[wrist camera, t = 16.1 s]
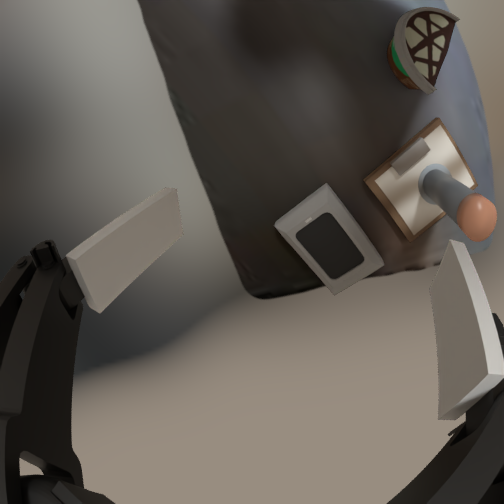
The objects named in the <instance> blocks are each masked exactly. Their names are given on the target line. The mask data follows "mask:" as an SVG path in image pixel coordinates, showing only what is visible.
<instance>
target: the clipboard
mask: <svg viewBox="0 0 504 504" xmlns="http://www.w3.org/2000/svg"><path fill="white" fill-rule="evenodd" d="M434 169H438V170H441V171H443V172H444V173H446V174H448V175H449V176H451V177H453V178H454V179H456V180H458V181H459V182H461V183H462V184H464V185H465V186H467V187H469V188H470V189H472V190H474V189H475V188H476V187H477V186H478V184H477V182H476V180H475V178H474V176H473V174H472V172H471V170H470V168H469V166H468V165H467V163H466V161H465V159H464V157H463V155H462V154H461V152H460V150H459V148H458V147H457V145H456V143H455V142H454V140H453V138H452V137H451V135H450V134H449V132H448V130H447V129H446V127H445V126H444V124H443V123H442V121H441V120H440V118H435V119H434V120H432V121H431V122H430V123H429V124H428V125H427V126H426V127H424V128H423V129H422V130H421V131H420V132H419V133H417V134H416V135H415V136H414V137H413V138H412V139H410V140H409V141H408V142H407V143H406V144H405V145H403V146H402V147H401V148H400V149H399V150H398V151H396V152H395V153H394V154H393V155H392V156H391V157H389V158H388V159H387V160H386V161H385V162H384V163H382V164H381V165H380V166H379V167H378V168H376V169H375V170H374V171H373V172H372V173H371V174H369V175H368V176H367V177H366V178H365V179H363V180H364V182H365V183H366V184H367V185H368V187H369V188H370V189H371V190H372V192H373V193H374V194H375V195H376V197H377V198H378V199H379V201H380V202H381V203H382V204H383V206H384V207H385V208H386V210H387V211H388V212H389V214H390V215H391V217H392V218H393V219H394V221H395V222H396V223H397V225H398V226H399V228H400V229H401V231H402V232H403V233H404V235H405V236H406V238H407V239H408V241H409V242H410V243H411V242H412V241H413V240H414V239H416V238H417V237H418V236H420V235H421V234H422V233H423V232H425V231H426V230H427V229H428V228H430V227H431V226H432V225H433V224H435V223H436V222H437V221H438V220H439V219H441V218H442V217H443V216H444V215H445V214H446V213H445V212H444V211H443V210H442V209H441V208H440V207H439V206H438V205H437V204H436V203H435V202H433V201H432V200H431V199H430V198H429V197H428V196H427V195H426V194H425V192H424V190H423V180H424V177H425V175H426V174H427V173H428V172H429V171H431V170H434Z"/></svg>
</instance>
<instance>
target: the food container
mask: <svg viewBox="0 0 504 504" xmlns="http://www.w3.org/2000/svg"><path fill="white" fill-rule="evenodd" d="M459 20H460V19H459V18H458V17H456V16H455V15H453V14H451V13H449V12H447V11H445V10H442V9H438V8H432V7H422V8H417V9H413V10H411V11H408V12H406V13H405V14H404V15H402V16H401V18H400V19H399V20H398V22H397V24H396V27H395V31H394V37H393V39H392V40H391V41H390V43H389V45H388V48H387V59H388V63H389V66H390V68H391V70H392V72H393V73H394V75H395V76H396V78H397V79H398V80H399V81H400V82H401V83H402V84H403V85H404V86H406V87H407V88H409V89H419V90H422V91H424V92H425V93H426V94H431V93H433V92H434V91H435V90H437V89H436V88H435V87H434V85H435V83H436V79H437V76H438V74H439V71H440V69H441V66H442V64H443V61H444V59H445V56H446V54H447V51H448V48H449V43H450V40H451V36H452V32H453V29H454V26H455V23H456V22H457V21H459Z"/></svg>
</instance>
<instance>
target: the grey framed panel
mask: <svg viewBox="0 0 504 504" xmlns="http://www.w3.org/2000/svg"><path fill="white" fill-rule="evenodd" d="M274 226H275V227H276V229H277V230H278V231H279V233H280V234H281V235H282V236H283V237H284V238H285V239H286V241H287V242H288V243H289V244H290V245H291V246H292V247H293V248H294V250H295V251H296V252H297V253H298V254H299V255H300V256H301V258H302V259H303V260H304V261H305V262H306V263H307V264H308V266H309V267H310V268H311V269H312V270H313V271H314V272H315V274H316V275H317V276H318V277H319V278H320V279H321V281H322V282H323V283H324V284H325V285H326V286H327V288H328V289H329V290H330V291H331V292H332V293H333V294H334V295H336V294H338V293H339V292H341V291H343V290H345V289H346V288H348V287H350V286H351V285H353V284H355V283H356V282H358V281H360V280H361V279H363V278H365V277H366V276H368V275H369V274H371V273H373V272H374V271H376V270H377V269H379V268H381V267H382V266H384V262H383V260H382V258H381V256H380V255H379V253H378V252H377V250H376V249H375V247H374V246H373V244H372V243H371V241H370V240H369V238H368V237H367V236H366V234H365V233H364V231H363V230H362V229H361V227H360V226H359V224H358V223H357V222H356V220H355V219H354V218H353V216H352V215H351V214H350V212H349V211H348V210H347V208H346V207H345V206H344V204H343V203H342V202H341V200H340V199H339V198H338V196H337V195H336V194H335V193H334V191H333V190H332V189H331V188H330V186H329V185H328V184H327V183H326V184H324V185H323V186H322V187H320V188H319V189H318V190H316V191H315V192H314V193H312V194H311V195H310V196H308V197H307V198H306V199H305V200H303V201H302V202H301V203H299V204H298V205H297V206H295V207H294V208H293V209H291V210H290V211H289V212H287V213H286V214H285V215H284V216H282V217H281V218H280V219H278V220H277V221H276V223H275V225H274Z"/></svg>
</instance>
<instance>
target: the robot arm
mask: <svg viewBox="0 0 504 504" xmlns="http://www.w3.org/2000/svg"><path fill="white" fill-rule="evenodd" d="M183 235H184V234H183V228H182V222H181V215H180V210H179V202H178V195H177V189H175V188H164V189H162V190H160V191H159V192H157V193H155V194H154V195H152V196H150V197H149V198H147V199H146V200H144V201H142V202H141V203H139V204H138V205H136V206H135V207H133V208H132V209H130V210H128V211H127V212H125V213H124V214H122V215H121V216H119V217H118V218H116V219H115V220H113V221H112V222H111V223H109V224H108V225H106V226H105V227H103V228H102V229H100V230H99V231H98V232H96V233H95V234H93V235H92V236H91V237H89V238H88V239H87V240H85V241H84V242H83V243H81V244H80V245H79V246H77V247H76V248H75V249H73V250H72V251H71V252H69V253H68V254H67V255H66V257H65V258H64V259H62V260H61V258H60V255H59V253H58V250H57V248H56V245H55V243H54V241H53V240H46V241H43V242H41V243H39V244H37V245H36V246H35V247H34V248H32V250H31V251H30V253H31V255H32V256H29V255H28V256H23V257H21V258H20V259H19V260H18V261H17V262H16V263H15V264H14V265H13V267H12V268H11V269H10V270H9V272H8V273H7V274H6V276H5V277H4V278H3V280H2V281H1V282H0V504H115V503H114V502H112V501H111V500H110V499H108V498H107V497H106V496H104V495H103V494H99V493H95V492H92V491H89V490H87V489H84V484H83V478H82V477H83V476H82V469H81V464H80V461H79V459H78V457H77V456H76V454H75V453H74V451H73V448H72V441H71V408H72V387H73V374H74V363H75V355H76V347H77V340H78V334H79V327H80V322H81V316H82V311H83V304H82V302H81V300H82V299H83V298H84V297H85V299H86V301H87V303H88V305H89V307H90V308H92V309H93V310H95V311H97V312H99V313H101V312H102V311H103V310H104V309H105V308H106V307H107V306H108V305H109V304H110V303H111V302H112V301H113V300H114V299H115V298H116V297H117V296H118V295H119V294H120V293H121V292H122V291H123V290H124V289H125V288H126V287H127V286H128V285H129V284H130V283H131V282H132V281H134V280H135V279H136V278H137V277H138V276H139V275H140V274H141V273H142V272H143V271H144V270H145V269H146V268H147V267H148V266H149V265H151V264H152V263H153V262H154V261H155V260H156V259H157V258H158V257H159V256H160V255H161V254H163V253H164V252H165V251H166V250H167V249H168V248H169V247H170V246H171V245H173V244H174V243H175V242H176V241H177V240H178V239H179V238H180V237H182V236H183ZM22 290H23V292H24V294H25V296H24V299H23V300H22V298H21V296H20V295H19V294H20V293H21V291H22ZM429 290H430V296H431V302H432V309H433V316H434V323H435V332H436V343H437V356H438V376H439V377H438V378H439V405H438V420H456V419H458V418H459V417H460V416H461V415H463V414H464V413H465V412H466V421H465V422H464V423H462V424H461V425H459V426H458V427H457V428H455V429H454V430H452V431H451V432H450V433H449V434H448V435H449V436H450V435H452V434H454V435H453V436H452V437H451V438H450V440H449V441H448V442H447V443H446V445H445V446H444V447H443V448H442V449H441V451H440V452H439V453H438V454H437V455H436V456H435V458H434V459H433V460H432V461H431V462H430V463H429V464H428V465H427V466H426V467H425V468H424V470H422V471H421V473H419V474H418V476H417V477H416V478H414V480H412V481H411V482H410V483H409V484H408V485H407V486H406V487H405V488H404V489H403V490H402V491H401V492H400V493H398V494H397V495H396V496H395V497H394V498H393V499H392V500H390V501H389V502H388V503H387V504H504V327H503V324H502V323H501V321H500V319H499V318H498V316H497V315H496V314H495V313H491V310H490V306H489V303H488V301H487V298H486V295H485V292H484V289H483V287H482V284H481V282H480V279H479V277H478V274H477V272H476V270H475V267H474V265H473V262H472V260H471V258H470V256H469V253H468V251H467V249H466V247H465V245H464V243H461V242H458V241H454V240H449V243H448V246H447V248H446V251H445V254H444V256H443V259H442V261H441V263H440V266H439V268H438V271H437V273H436V275H435V278H434V280H433V282H432V284H431V286H430V288H429ZM19 458H21V459H23V460H25V461H27V462H29V463H31V464H33V465H35V466H37V467H39V468H40V469H41V470H42V472H43V474H44V475H24V476H20V469H19Z"/></svg>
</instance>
